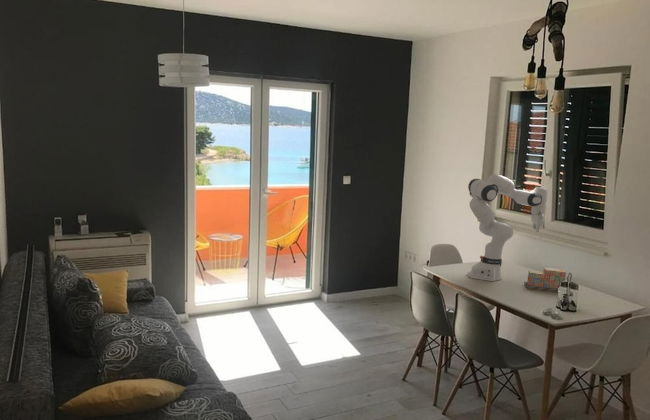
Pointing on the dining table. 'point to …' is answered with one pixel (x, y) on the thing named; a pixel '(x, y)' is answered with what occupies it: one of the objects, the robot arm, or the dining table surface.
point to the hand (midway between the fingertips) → (535, 230)
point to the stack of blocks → (546, 278)
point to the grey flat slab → (540, 288)
